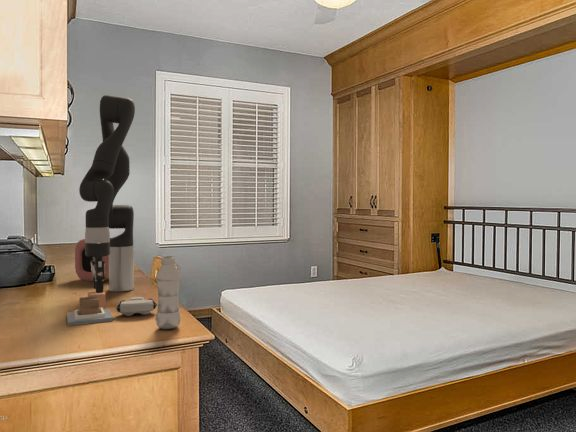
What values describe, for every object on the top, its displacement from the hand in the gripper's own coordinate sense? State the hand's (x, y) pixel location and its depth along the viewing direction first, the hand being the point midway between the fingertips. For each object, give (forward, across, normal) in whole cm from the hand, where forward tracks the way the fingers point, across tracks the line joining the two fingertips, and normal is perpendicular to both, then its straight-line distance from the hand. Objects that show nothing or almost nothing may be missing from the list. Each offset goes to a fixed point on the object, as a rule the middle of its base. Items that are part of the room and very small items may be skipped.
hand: (98, 290), depth 152 cm
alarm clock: (+5, -56, +6) cm, 56 cm away
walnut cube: (+5, +12, -4) cm, 14 cm away
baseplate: (+6, +12, -4) cm, 14 cm away
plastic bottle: (+7, +34, +15) cm, 37 cm away
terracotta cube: (+6, -1, 0) cm, 6 cm away
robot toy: (+6, +11, +10) cm, 16 cm away
